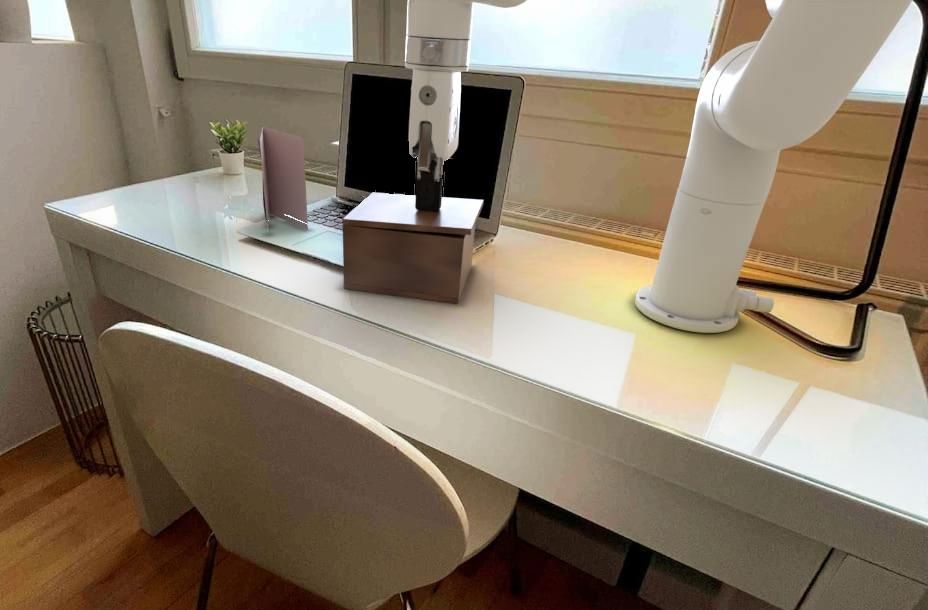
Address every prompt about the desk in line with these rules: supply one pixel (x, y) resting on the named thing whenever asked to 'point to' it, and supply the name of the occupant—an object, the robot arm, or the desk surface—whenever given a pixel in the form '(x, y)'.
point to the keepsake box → (407, 262)
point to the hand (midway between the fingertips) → (428, 208)
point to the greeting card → (283, 177)
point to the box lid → (415, 214)
